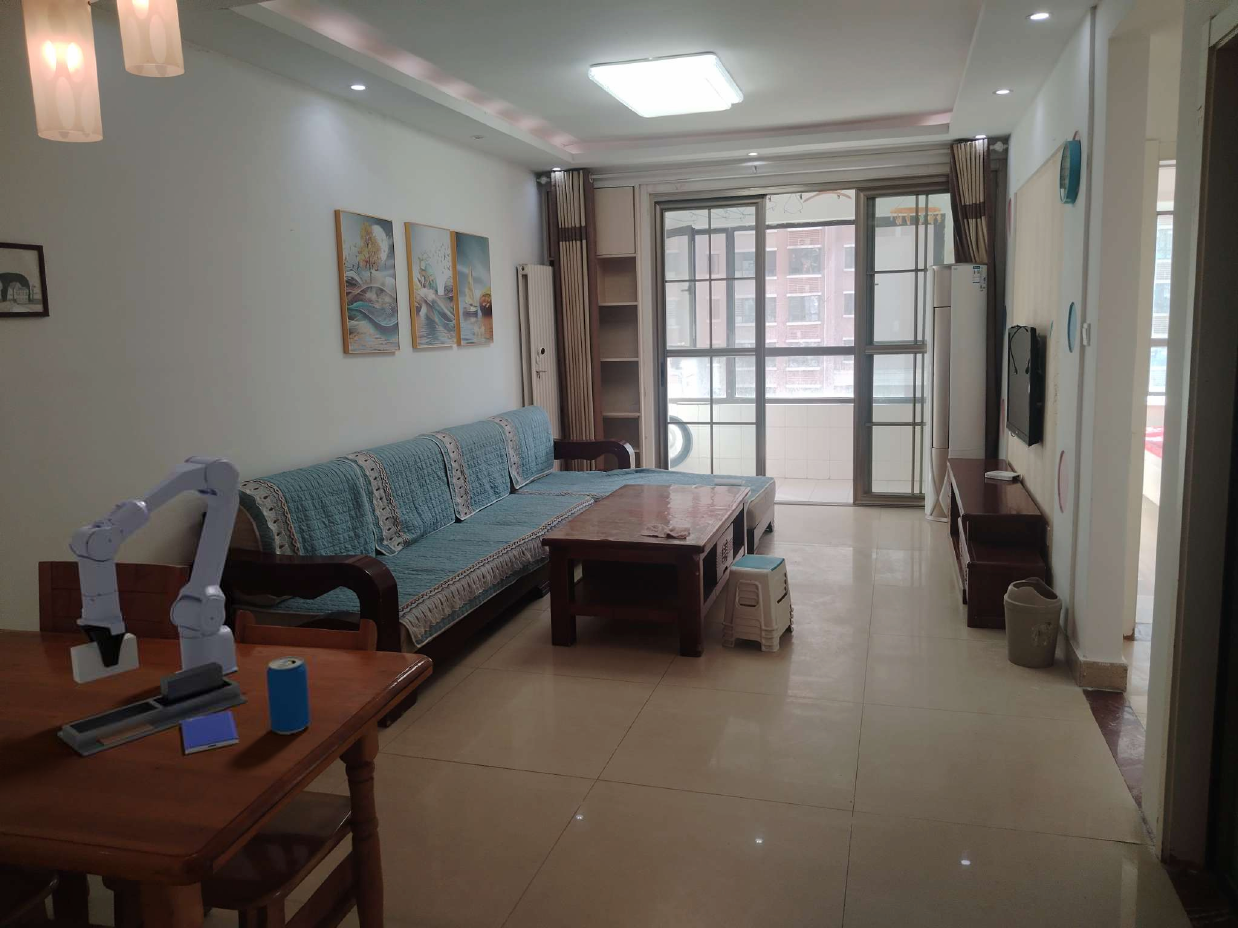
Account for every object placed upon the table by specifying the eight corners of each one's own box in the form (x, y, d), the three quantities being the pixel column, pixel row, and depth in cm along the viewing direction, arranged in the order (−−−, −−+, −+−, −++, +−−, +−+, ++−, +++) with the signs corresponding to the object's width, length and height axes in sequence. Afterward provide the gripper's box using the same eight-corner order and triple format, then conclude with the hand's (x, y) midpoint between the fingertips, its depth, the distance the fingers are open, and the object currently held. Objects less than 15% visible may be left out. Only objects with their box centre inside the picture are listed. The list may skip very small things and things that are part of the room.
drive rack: (217, 685, 177) (214, 653, 176) (247, 701, 169) (245, 667, 168) (57, 735, 156) (53, 699, 155) (84, 756, 148) (80, 718, 147)
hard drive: (181, 719, 160) (184, 748, 149) (231, 709, 163) (238, 736, 152) (181, 728, 160) (185, 757, 149) (231, 718, 164) (239, 745, 153)
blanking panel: (132, 663, 171) (129, 633, 170) (138, 667, 169) (135, 636, 168) (74, 679, 164) (70, 647, 163) (80, 683, 162) (76, 651, 161)
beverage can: (318, 722, 160) (313, 657, 158) (294, 738, 154) (289, 671, 152) (288, 718, 162) (283, 653, 160) (262, 733, 156) (257, 666, 154)
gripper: (60, 589, 166) (68, 660, 168) (91, 604, 157) (99, 679, 159) (102, 581, 171) (109, 650, 173) (133, 595, 162) (141, 667, 164)
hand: (107, 663), depth 166 cm, fingers closed on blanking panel, 3 cm apart
